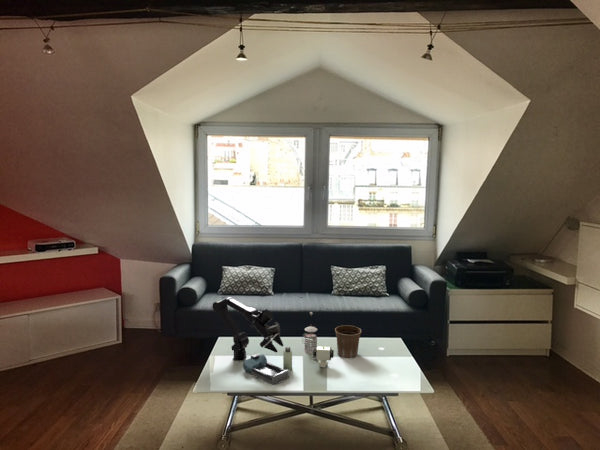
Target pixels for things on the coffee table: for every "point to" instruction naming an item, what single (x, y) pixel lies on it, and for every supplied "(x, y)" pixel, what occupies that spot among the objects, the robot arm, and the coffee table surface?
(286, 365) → the pale green bottle
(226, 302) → the robot arm
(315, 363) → the coffee table surface
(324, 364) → the pneumatic valve
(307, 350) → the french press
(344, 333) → the plant pot
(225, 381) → the coffee table surface
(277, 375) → the grey tray with cylinder
